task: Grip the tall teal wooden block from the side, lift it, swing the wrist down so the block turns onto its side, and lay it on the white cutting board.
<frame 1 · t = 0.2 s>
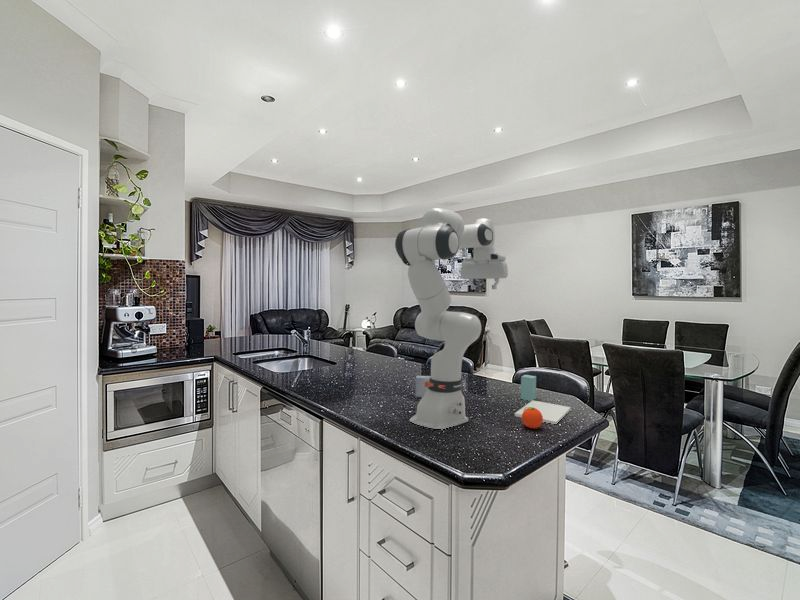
hand: (483, 289, 169), 47 cm above the worktop, tool pointing down, fingers open, 8 cm apart
medicine box: (424, 397, 172), on the worktop
clementine: (530, 427, 136), on the worktop
teal block: (528, 399, 172), on the worktop
white cutting board: (543, 413, 152), on the worktop
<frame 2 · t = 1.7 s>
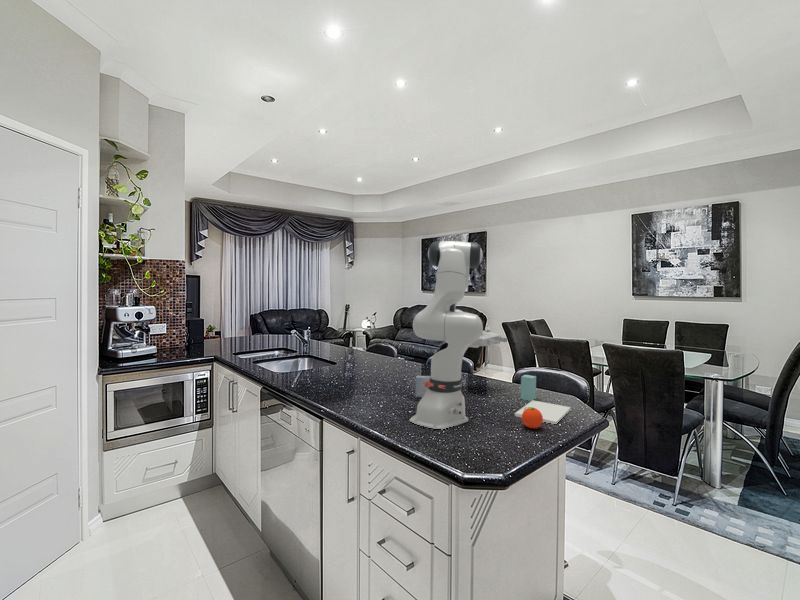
hand: (503, 341, 178), 24 cm above the worktop, tool horizontal, fingers open, 8 cm apart
nothing on the worktop moved.
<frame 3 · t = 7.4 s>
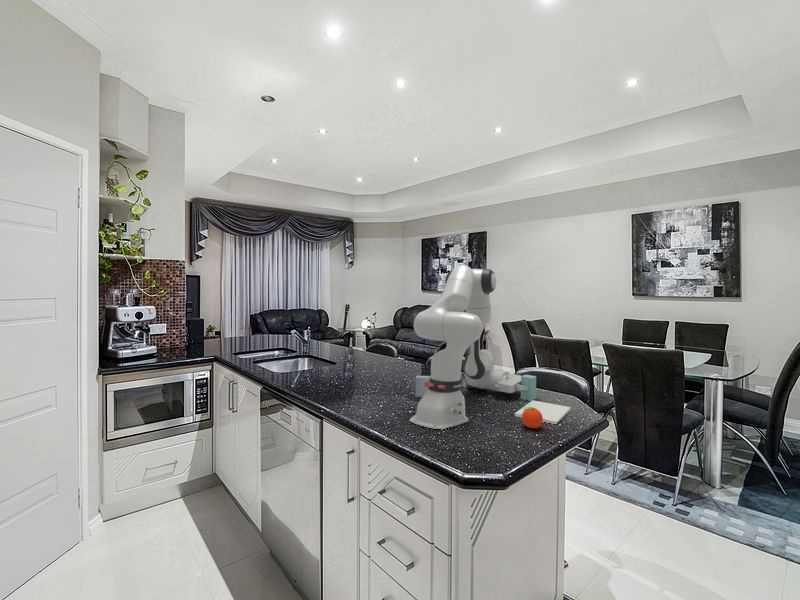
hand: (530, 386, 171), 6 cm above the worktop, tool horizontal, fingers closed on teal block, 5 cm apart
teal block: (528, 399, 172), on the worktop, touching gripper
everything else where it was.
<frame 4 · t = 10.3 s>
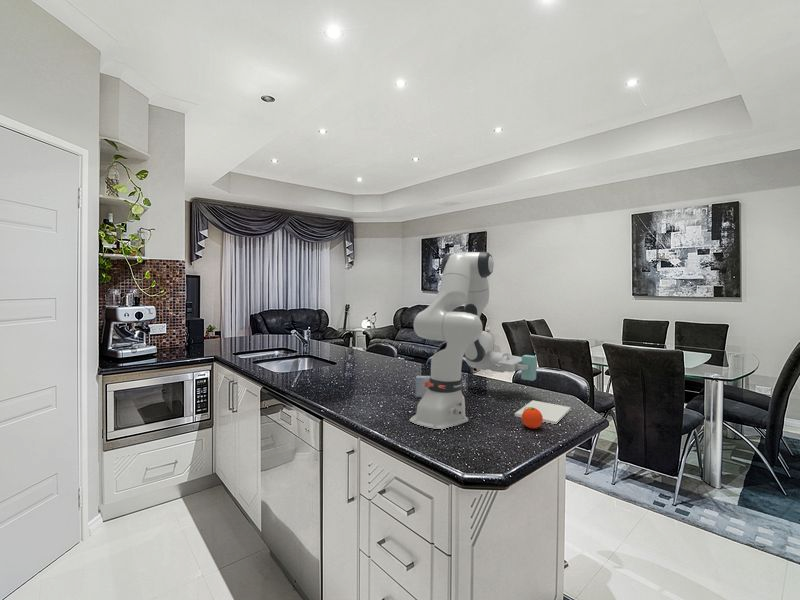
hand: (531, 366, 171), 14 cm above the worktop, tool horizontal, fingers closed on teal block, 5 cm apart
teal block: (528, 378, 171), point 9 cm above the worktop, touching gripper
everything else where it was.
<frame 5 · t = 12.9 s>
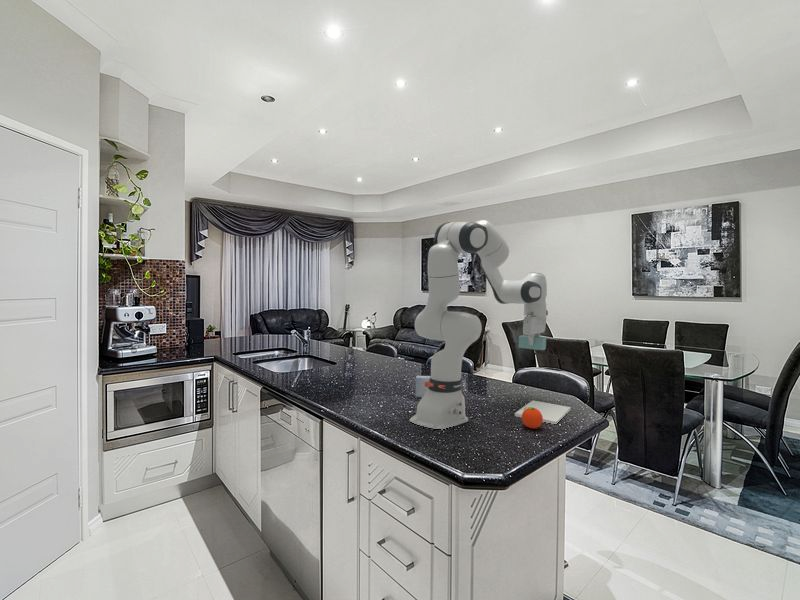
hand: (533, 344, 166), 25 cm above the worktop, tool pointing down, fingers closed on teal block, 5 cm apart
teal block: (520, 341, 169), point 25 cm above the worktop, tilted 90°, touching gripper
everything else where it was.
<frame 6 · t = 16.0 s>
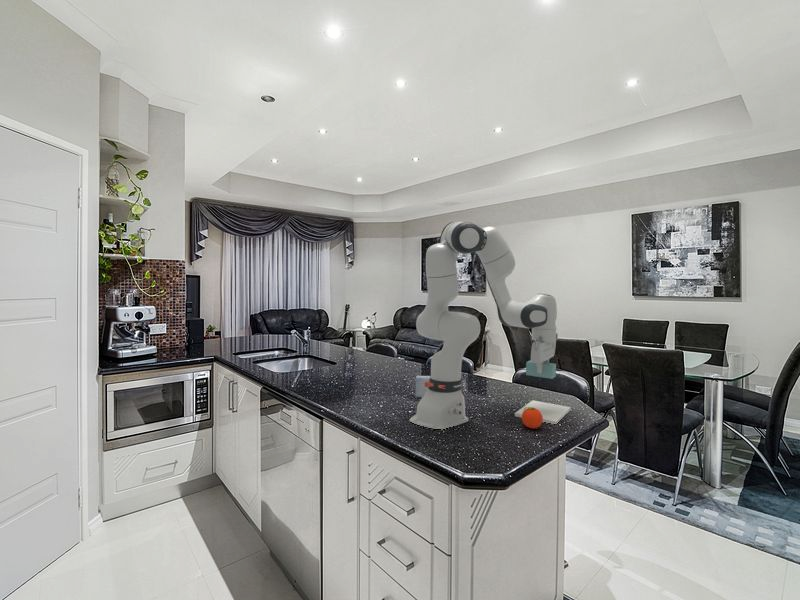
hand: (542, 371, 152), 16 cm above the worktop, tool pointing down, fingers closed on teal block, 5 cm apart
teal block: (528, 367, 156), point 17 cm above the worktop, tilted 90°, touching gripper
everything else where it was.
when the fingers open (5 cm above the worktop, at t = 18.7 s): teal block drops 2 cm, resting on white cutting board.
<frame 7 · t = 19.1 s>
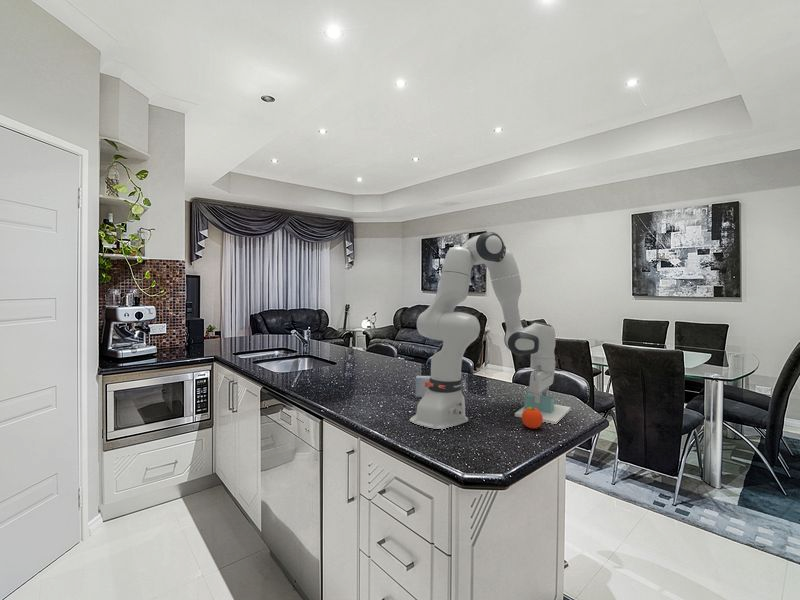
hand: (541, 399, 153), 5 cm above the worktop, tool pointing down, fingers open, 8 cm apart
teal block: (526, 400, 156), point 4 cm above the worktop, tilted 90°, touching white cutting board
everything else where it was.
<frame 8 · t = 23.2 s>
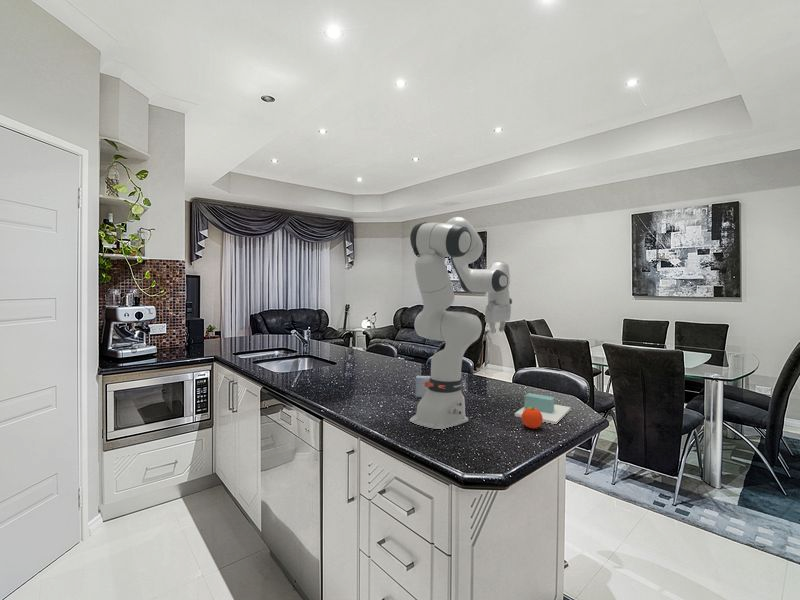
hand: (497, 332, 169), 29 cm above the worktop, tool pointing down, fingers open, 8 cm apart
nothing on the worktop moved.
at the end: teal block tilted 90°; teal block inside the target area on the white cutting board (6.2 cm from its centre), point 3.7 cm above the white cutting board's base; the gripper is holding nothing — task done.
